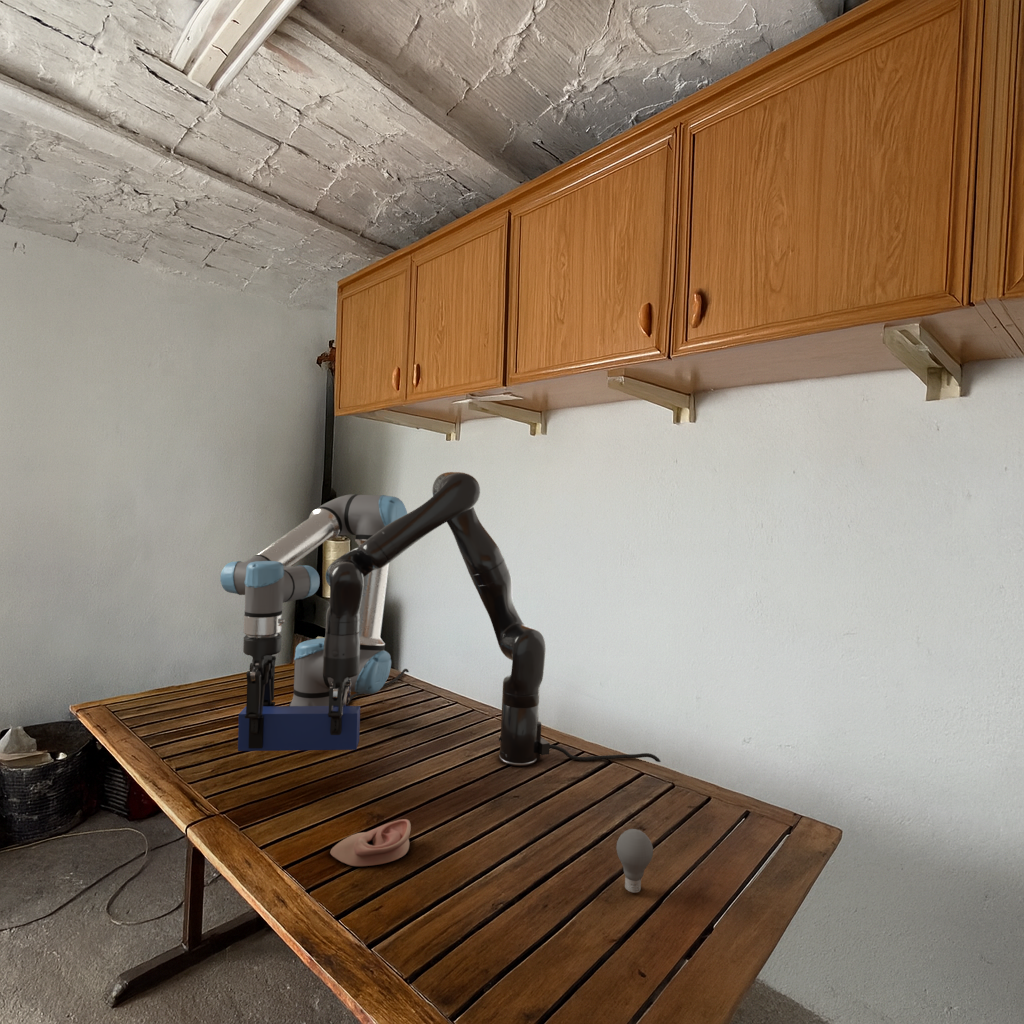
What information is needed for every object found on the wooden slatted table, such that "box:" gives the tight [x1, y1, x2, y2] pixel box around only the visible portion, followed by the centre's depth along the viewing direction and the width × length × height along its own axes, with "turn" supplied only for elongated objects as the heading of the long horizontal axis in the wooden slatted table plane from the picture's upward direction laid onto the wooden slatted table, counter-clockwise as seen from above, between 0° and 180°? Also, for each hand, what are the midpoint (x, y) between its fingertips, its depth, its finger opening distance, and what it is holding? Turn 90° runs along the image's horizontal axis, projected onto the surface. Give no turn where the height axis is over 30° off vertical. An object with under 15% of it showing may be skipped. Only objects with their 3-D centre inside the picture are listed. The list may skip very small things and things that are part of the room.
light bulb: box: [615, 828, 654, 894], centre depth 106 cm, size 6×6×10 cm
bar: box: [237, 705, 361, 752], centre depth 136 cm, size 24×5×8 cm, turn 96°
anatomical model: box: [329, 818, 412, 867], centre depth 114 cm, size 13×4×12 cm
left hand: (259, 742), depth 135 cm, fingers closed on bar, 5 cm apart
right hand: (339, 727), depth 137 cm, fingers open, 8 cm apart
